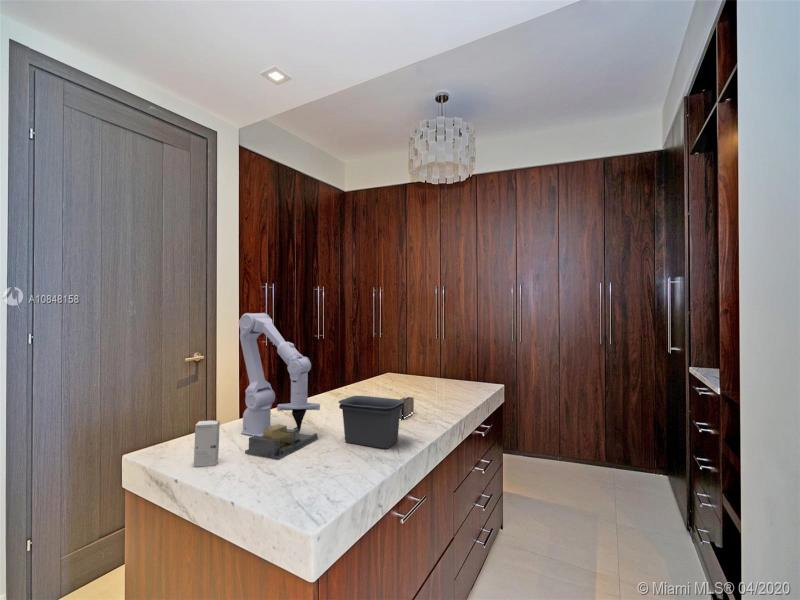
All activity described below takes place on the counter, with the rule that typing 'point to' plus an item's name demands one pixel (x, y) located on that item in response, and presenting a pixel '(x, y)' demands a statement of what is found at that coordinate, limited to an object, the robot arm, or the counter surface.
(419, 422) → the counter surface
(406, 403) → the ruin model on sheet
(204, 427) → the skincare box
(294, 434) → the free jaw
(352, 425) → the storage bin
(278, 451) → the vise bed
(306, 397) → the robot arm
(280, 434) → the brass block
